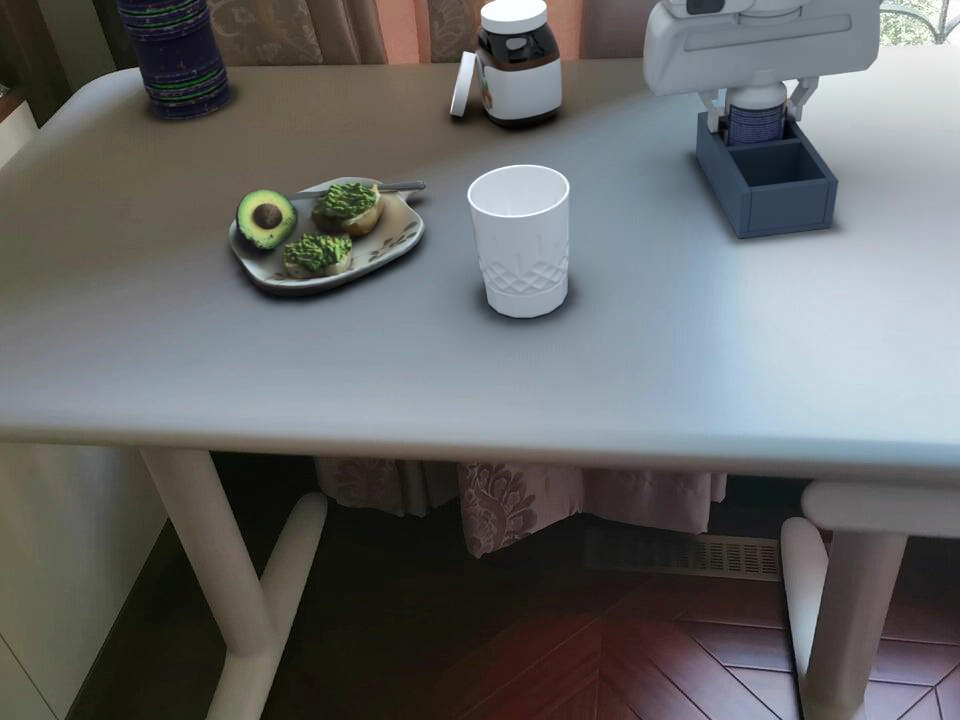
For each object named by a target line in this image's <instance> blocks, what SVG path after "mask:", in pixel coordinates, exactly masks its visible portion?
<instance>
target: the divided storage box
mask: <svg viewBox="0 0 960 720" xmlns="http://www.w3.org/2000/svg"><path fill="white" fill-rule="evenodd" d="M696 122H697V124H696V142H695V143H696V144H695V157H696V158H697V159H696V160H698V163H699V164H700V166H701V168H702V170H703V173H704V174H705V176H706V178H707V180H708V182H709V184H710V186H711V188H712V190H713V191H714V194H715V195H716V197H717V199H718V202H719V203H720V205H721V207H722V210H723V211H724V213H725V215H726V217H727V219H728V221H729V223H730V224H731V227H732V228H733V230H734V231H733V232H735V234H736V236H737V238H738V239H739V240H740V239H747V238H755V237H764V236H773V235H781V234H786V233H787V234H789V233H798V232H805V231H806V232H807V231H813V230H822V229H830V228H832V226H833V219H834V213H835V205H836V200H837V193H838V187H839V182H840V181H839V179H838V178H837V177H836V175H835V174H834V173H833V171H832V170H831V168H830V167H829V166H828V164H827V163H826V162H825V160H824V159H823V157H822V156H821V155H820V153H819V152H818V151H817V149H816V148H815V146H814V145H813V143H812V142H811V141H810V139H809V138H808V137H807V135H806V134H805V133H804V131H803V129H802V128H801V127H800V125H798V122H793V123H785V124H784V129H783V137H782V140H778V141H770V142H762V143H754V144H746V145H738V146H729V147H726V146H725V144H724V143H723V131H722V132H715V133H711V132H710V130H709V128H708V110H707V111H700V112H698V113H697V121H696Z"/></svg>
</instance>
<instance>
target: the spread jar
mask: <svg viewBox="0 0 960 720" xmlns="http://www.w3.org/2000/svg"><path fill="white" fill-rule="evenodd" d="M480 20H481V28H480V29H479V31H478V32H477V34H476V38H475V42H474V43H475V44H474V52H475V53H472V52H469V51H463V52H462V56H461V60H460V63H459V68H458V73H457V77H456V82H455V87H454V92H453V97H452V101H451V107H450V115H453V116H457V117H461V118H462V117H463V116H464V113H465V109H466V105H467V101H468V98H469V97H468V96H469V92H470V89H471V83H472V79H473V74H474V69H475V64H476V72H477V74H476V75H477V82H478V88H479V93H480V97H481V102H482V104H483V107H484V110H485V112H486V114H487V116H488V117H489V119H490V120H491V121H492V122H493V123H495V124H497V125H499V126H502V127H506V128H526V127H527V128H528V127H531V126H532V127H533V126H535V125H538V124H541V123H543V122H545V121H546V120H548V119H550V118H551V117H552V116H554V115H555V114H556V113H557V112H558V111H559V109H560V107H561V105H562V102H563V101H562V100H563V83H562V64H561V63H562V62H561V53H560V48H559V45H558V42H557V40H556V37H555V33H554V32H553V30H552V29H551V26H550V25H549V23H548V22H547V21H548V7H547V4H546V2H545V1H544V0H492V1H490V2H489V3H487V4H485V5H484V6H482V8H481V9H480ZM475 62H476V63H475Z"/></svg>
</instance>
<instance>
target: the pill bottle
mask: <svg viewBox="0 0 960 720" xmlns="http://www.w3.org/2000/svg"><path fill="white" fill-rule="evenodd" d="M775 80H776V79H775V77H774V69H767V70H760V71H756V73H755V79H754V81H753V82H752V83H753V84H751V85H748V86H740V87H732V88H726V90H725V97H724V99H725V100H724V108H725V111H726V112H727V113H728V114H729V120H728V123H727V125H728V130H727V131H723V143H724V144H725V146H726V147H729V146H738V145H746V144H754V143H762V142H770V141H778V140H782V137H783V129H784V120H785V111H786V102H787V98H788V88H787V86H786V84H785V83H784V81H779V82H776V81H775Z"/></svg>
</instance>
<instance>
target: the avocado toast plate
mask: <svg viewBox="0 0 960 720" xmlns="http://www.w3.org/2000/svg"><path fill="white" fill-rule="evenodd" d="M425 188H426V181H425V180H409V181H397V182H387V183H384V182H381V181H378V180H375V179H372V178H365V177H355V176H353V177H352V176H348V177H347V176H346V177H339V178H335V179H332V180H328V181H326V182H322V183H320V184H318V185H315V186H311V187H309V188H306V189H304V190H301V191H298V192H293V193H287V194H286V193H283V194H282V193H280V192H278V191H275V190H273V189H267V188H265V189H263V188H262V189H255V190H253V191H250V192H249V193H247V194H246V195H244V196H243V197H242V199H241V201H240V202H238V203H237V204H235V205H234V206H235V207H236V212H235V219H233V222H232V223H231V225H230V227H229V230H228V243H229V246H230V248H231V249H232V251H233V253H234V255H235V258H236V260H237V261H238V263H239V264H240V265H241V266H242V267H243V269H244V271H245V273H246V274H247V276H248V278H249V280H250V281H251V282H252V283H254V284H255V285H256V287H258V288H260V289H261V290H264V291H266V292H269V293H271V294H274V295H277V296H280V297H284V298H285V297H286V298H296V297H305V296H310V295H315V294H319V293H322V292H325V291H328V290H331V289H334V288H336V287H339V286H341V285H343V284H345V283H349V282H352V281H355V280H358V279H360V278H361V277H363V276H365V275H367V274H369V273H371V272H373V271H375V270H378V268H381V267H382V266H385V265H387V264H388V263H389V262H391V261H394V260H395V259H397V258H399V257H401V256H403V255H405V254H406V253H407V252H409V251H410V250H411V249H412V248H413V247H414V246H415V245H417V244H418V243H419V241H420V240H421V238H422V236H423V234H424V232H425V230H426V224H425V222H424V220H423V219H422V218H421V216H420V215H419V214H418V213H417V212H415V210H414V209H413V208H411V207H410V206H409V205H408V203H407V200H408V198H409V197H411V196H413V195H415V194H417V193H420V192H421V191H424V190H425Z"/></svg>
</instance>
